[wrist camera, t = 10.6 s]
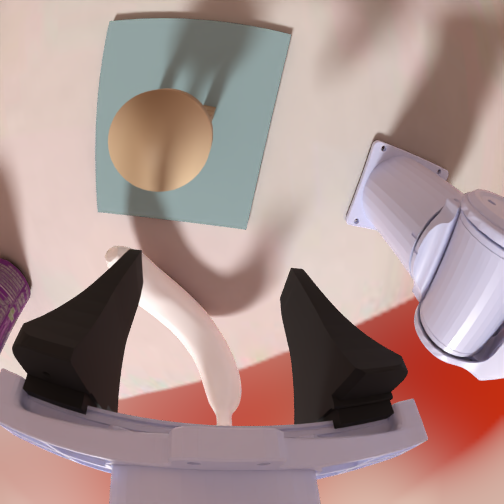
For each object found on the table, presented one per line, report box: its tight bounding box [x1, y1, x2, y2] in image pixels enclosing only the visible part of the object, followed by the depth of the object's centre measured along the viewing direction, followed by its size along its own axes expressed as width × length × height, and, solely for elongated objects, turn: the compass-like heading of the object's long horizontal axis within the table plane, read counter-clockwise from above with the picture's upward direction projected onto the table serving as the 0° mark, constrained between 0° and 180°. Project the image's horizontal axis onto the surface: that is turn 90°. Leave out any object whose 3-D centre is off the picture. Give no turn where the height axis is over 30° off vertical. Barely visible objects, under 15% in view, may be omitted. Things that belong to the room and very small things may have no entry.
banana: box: [105, 246, 241, 426], centre depth 22 cm, size 5×19×15 cm, turn 31°
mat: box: [95, 18, 291, 230], centre depth 18 cm, size 13×16×1 cm
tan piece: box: [108, 88, 216, 192], centre depth 15 cm, size 5×5×7 cm
